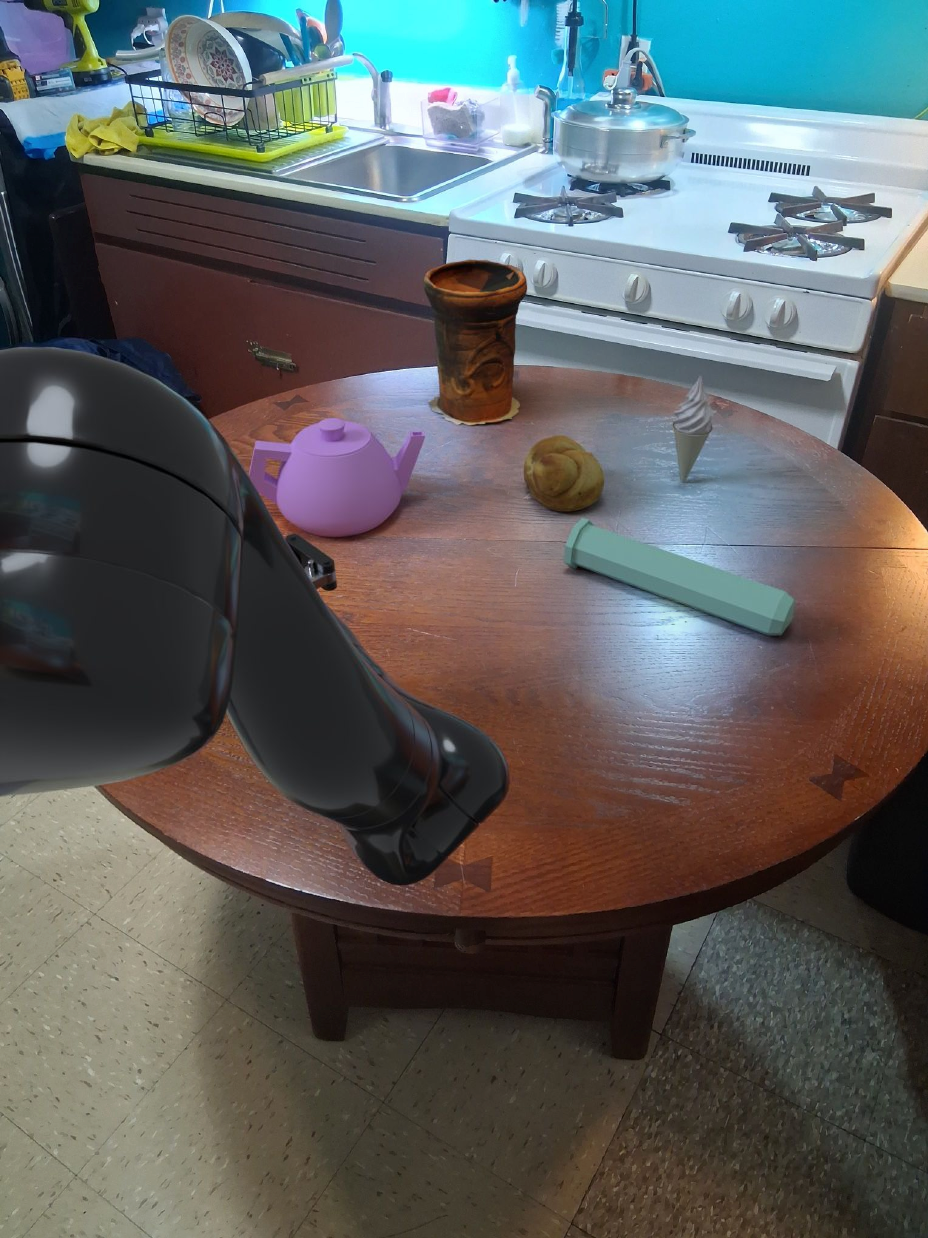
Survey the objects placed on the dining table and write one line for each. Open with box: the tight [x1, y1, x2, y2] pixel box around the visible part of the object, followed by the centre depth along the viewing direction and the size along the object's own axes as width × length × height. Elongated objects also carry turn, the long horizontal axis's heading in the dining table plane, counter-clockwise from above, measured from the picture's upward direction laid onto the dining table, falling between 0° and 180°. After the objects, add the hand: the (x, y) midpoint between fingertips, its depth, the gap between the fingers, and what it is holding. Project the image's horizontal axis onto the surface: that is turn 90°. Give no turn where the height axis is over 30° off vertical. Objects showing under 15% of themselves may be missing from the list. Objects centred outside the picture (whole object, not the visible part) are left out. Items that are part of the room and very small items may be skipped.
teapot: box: [248, 417, 426, 538], centre depth 107 cm, size 22×16×12 cm
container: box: [563, 517, 796, 637], centre depth 95 cm, size 6×6×25 cm
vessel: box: [423, 258, 528, 426], centre depth 127 cm, size 14×14×20 cm
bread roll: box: [523, 434, 605, 513], centre depth 111 cm, size 13×10×8 cm
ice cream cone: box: [671, 374, 715, 484], centre depth 111 cm, size 5×5×15 cm
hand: (207, 544), depth 73 cm, fingers closed on tumbler, 6 cm apart
